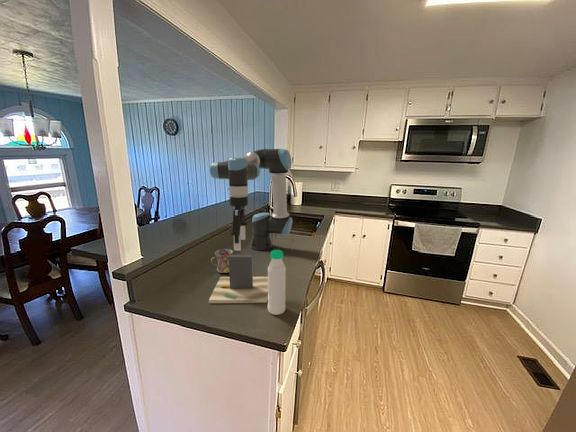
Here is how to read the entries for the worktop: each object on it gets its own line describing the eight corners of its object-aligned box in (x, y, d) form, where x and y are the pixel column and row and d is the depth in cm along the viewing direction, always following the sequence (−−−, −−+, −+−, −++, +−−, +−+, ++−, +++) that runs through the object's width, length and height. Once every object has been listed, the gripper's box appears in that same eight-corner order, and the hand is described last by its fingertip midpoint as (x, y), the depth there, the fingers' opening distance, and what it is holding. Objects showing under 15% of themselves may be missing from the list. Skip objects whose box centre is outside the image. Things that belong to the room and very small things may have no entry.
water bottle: (285, 304, 98) (286, 247, 93) (285, 315, 92) (286, 254, 86) (268, 304, 98) (267, 247, 92) (267, 315, 91) (266, 254, 86)
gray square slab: (222, 285, 109) (220, 254, 106) (253, 285, 110) (252, 254, 106) (221, 288, 107) (219, 257, 103) (252, 288, 107) (251, 257, 104)
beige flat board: (220, 279, 118) (220, 276, 118) (269, 279, 119) (268, 276, 119) (209, 303, 99) (208, 299, 98) (267, 302, 100) (267, 299, 99)
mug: (228, 265, 134) (227, 247, 132) (237, 270, 128) (236, 252, 125) (207, 271, 126) (206, 253, 124) (216, 278, 120) (215, 258, 117)
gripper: (235, 192, 111) (236, 235, 116) (222, 200, 86) (225, 255, 91) (251, 192, 111) (251, 235, 116) (243, 201, 87) (244, 255, 92)
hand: (240, 244), depth 104 cm, fingers open, 13 cm apart
